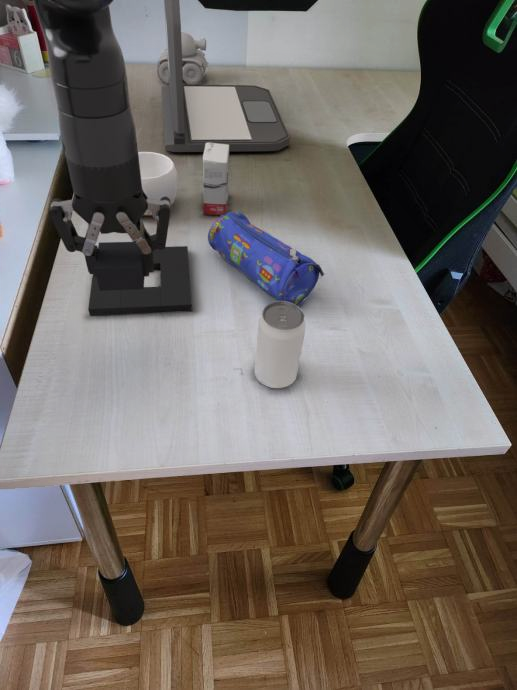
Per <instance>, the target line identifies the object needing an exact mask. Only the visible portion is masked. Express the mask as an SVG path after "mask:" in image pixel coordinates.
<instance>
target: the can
mask: <svg viewBox="0 0 517 690" xmlns="http://www.w3.org/2000/svg"><path fill="white" fill-rule="evenodd" d="M306 325H307V324H306V320H305V313H304V310H303V309H302V308H301V307H299V306H297V305H295V304H293V303H291V302H287V301H279V300H277V301H276V300H275V301H272V302H270V303H267V305H265V307H264V308H263V310H262V313H261V315H260V316H259V319H258V325H257V335H256V345H255V346H256V347H255V357H254V368H253V372H254V376H255V378H256V379H257V381H258V382H259V383H261V384H262V385H263V386H265V387H268V388H269V389H283V388H287V387H289V386H291V385H292V384H293V383H294V382H295V381H296V379H297V376H298V372H299V368H300V361H301V355H302V350H303V345H304V340H305V333H306Z"/></svg>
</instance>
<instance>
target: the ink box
mask: <svg viewBox="0 0 517 690" xmlns="http://www.w3.org/2000/svg"><path fill="white" fill-rule="evenodd" d="M229 178H230V151H229V145H228V144H218V143H206V144H205V150H204V152H203V155H202V187H203V188H202V190H203V191H202V192H203V193H202V194H203V196H202V197H203V201H202V203H203V205H202V206H203V207H202V208H203V215H209V216H222V215H225V214H227V208H228V202H229V201H228V200H229V182H230V181H229V180H230V179H229Z"/></svg>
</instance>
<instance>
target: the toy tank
mask: <svg viewBox="0 0 517 690" xmlns="http://www.w3.org/2000/svg"><path fill="white" fill-rule="evenodd" d="M181 43H182V69H183V85H201V83H202V82H203V79H204V77H205V76H204V75H205V72H206V70H207V68H208V67H209V62H208V61H207V59H206V57H205V56H206V54H205V53H204V52H203V51H207V40H206V38H205V37H204V38H203V39H200V40H196V39H195V38H194V37H193V36H192V35H191V34H189V33H187V32H185V31H181ZM156 67H157V68H156V73H157V76H158V79H159V80H160V81H161V82H162V83H163V84H165V85H169V75H168V57H167V48H165V49H164V50H163V51H162V52H161V54H160V55H159V58H158V60H157V63H156Z"/></svg>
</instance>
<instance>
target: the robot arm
mask: <svg viewBox="0 0 517 690" xmlns="http://www.w3.org/2000/svg"><path fill="white" fill-rule="evenodd" d="M114 1H115V0H32V2H33V5H34V9H35V12H36V15H37V19H38V22H39V26H40V29H41V32H42V34H43V38H44V42H45V47H46V48H45V49H46V52H47V53H46V54H47V59H48V60H47V61H48V67H49V73H50V78H51V83H52V86H53V91H54V96H55V101H56V105H57V111H58V124H59V131H60V137H61V141H60V142H61V146H62V150H63V152H64V155H65V159H66V164H67V168H68V169H67V170H68V173H69V178H70V182H71V187H72V191H73V196H72V199H67V200H62V199H61V198H59V197H56V198H53V199H52V201H51V203H50V207H49V211H48V215H49V217H50V219H51V221H52V223H53V225H54V227H55V229H56V231H57V234H58V235H59V237H60V239H61V241H62V243H63V245H64V247H65V250H66V251H68V252H69V253H74V252H80V253H82V254H83V256H84V260H85V263H86V264H85V265H86V267H87V272H88V273H89V274H90V275H93V274H94V277H95V278H97V277H96V272H95V265H96V260H97V254H98V245H96V244H97V242H98V238H99V235H100V234H101V235H106V234H107V235H108V234H113V233H118V234H127V235H128V236H129V238H130V239H131V242H136V244H137V245H138V247H139V248H140V250H141V254H140V255H141V260H142V267H143V275H144V278H146V277H150V273H153V272H154V271H155V270H154V259H153V251H154V250H155V249H159V250H162V249H164V248H165V247H167V239H168V231H169V227H170V220H171V219H170V218H171V205H170V199H169V198H168V197H162V198H161V199H160V200H155V199H148V198H147V196H146V194H145V193H144V191H143V189H142V182H141V173H140V165H139V156H138V152H139V149H138V141H137V132H136V123H135V120H134V115H133V112H132V108H131V101H130V100H131V99H130V92H129V84H128V83H129V82H128V75H127V69H126V68H127V67H126V62H125V57H124V54H123V50H122V48H121V45H120V43H119V41H118V39H117V37H116V35H115V32H114V28H113V23H112V16H111V8H110V5H112V4H113V2H114ZM147 209H148V210H150V211H151V212H152V216H151V217H152V218H153V219H155V220H156V221H157V222H156V230H155V234H151V235H150V233H149V232H148V231H147V229H146V227H145V223H144V221H143V220H142V217H143V216H144V213H145V212H146V210H147ZM73 212H74V213H76V214H77V215H78V216H79V217H80V218H81V219H83V221H84V222H86V223H87V224H88V225H87V229H86V233H85V236H81V235H79V234H78V232H77V230H76V228H75V227H76V226H75V225H74V223H73V221H72V217H73Z"/></svg>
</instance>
